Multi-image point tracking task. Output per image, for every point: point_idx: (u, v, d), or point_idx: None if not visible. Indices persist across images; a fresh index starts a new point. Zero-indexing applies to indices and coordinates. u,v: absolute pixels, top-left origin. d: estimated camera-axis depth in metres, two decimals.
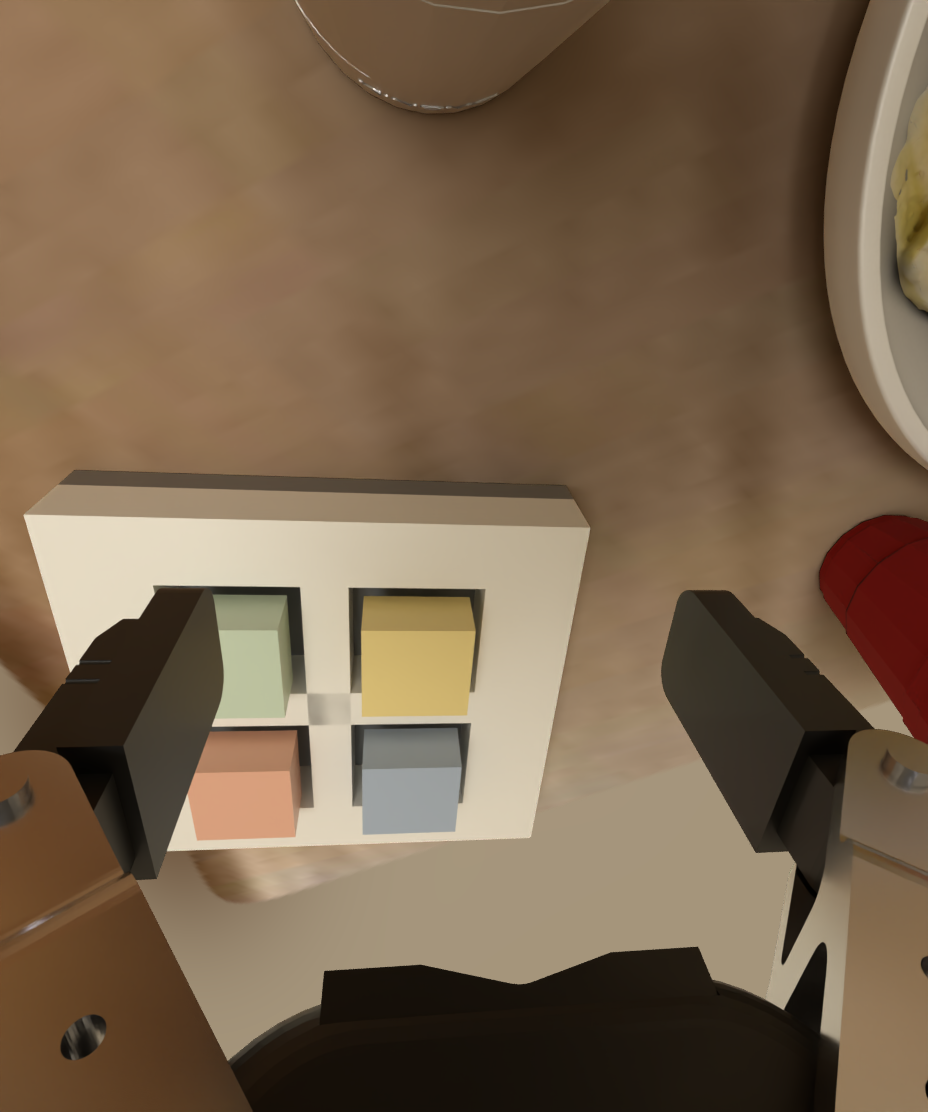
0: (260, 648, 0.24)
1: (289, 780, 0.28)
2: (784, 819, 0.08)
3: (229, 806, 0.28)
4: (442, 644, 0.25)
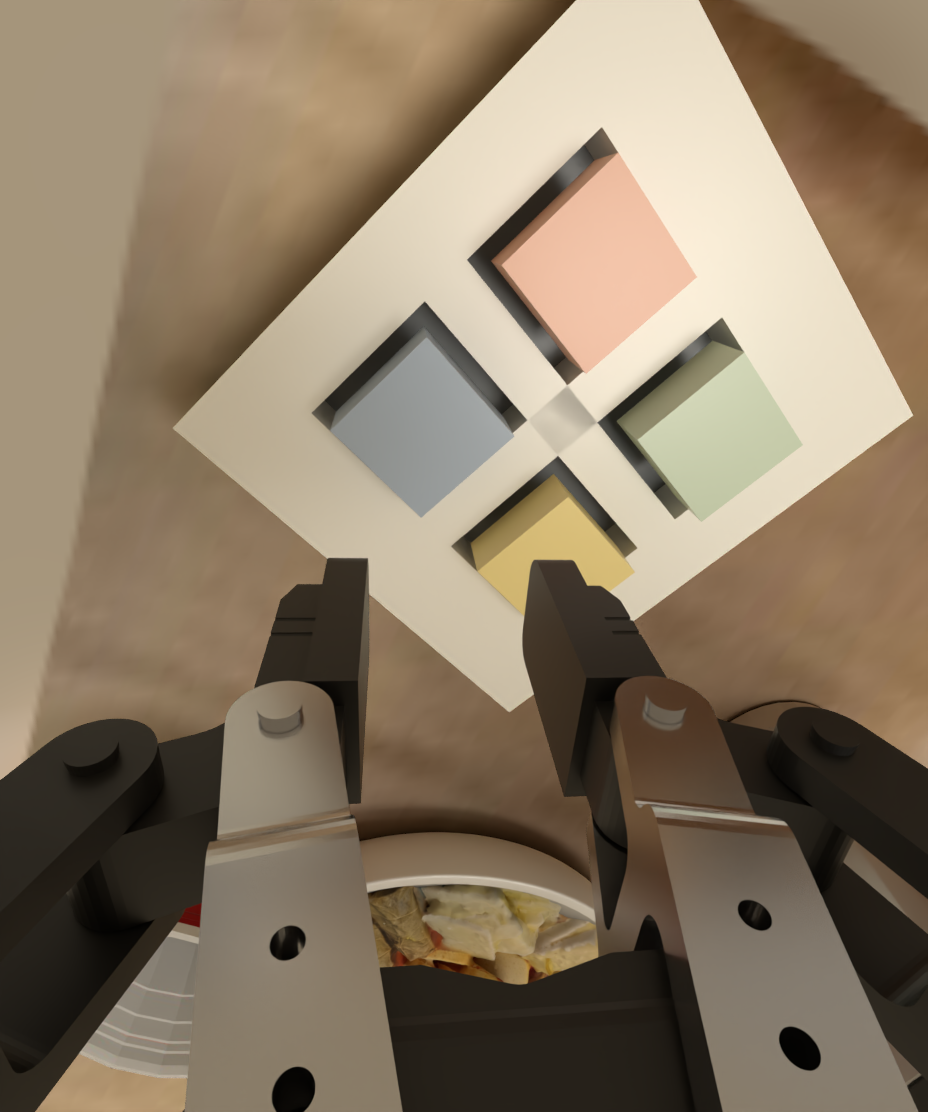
0: (704, 495, 0.24)
1: (576, 359, 0.21)
2: (582, 763, 0.09)
3: (615, 258, 0.19)
4: None
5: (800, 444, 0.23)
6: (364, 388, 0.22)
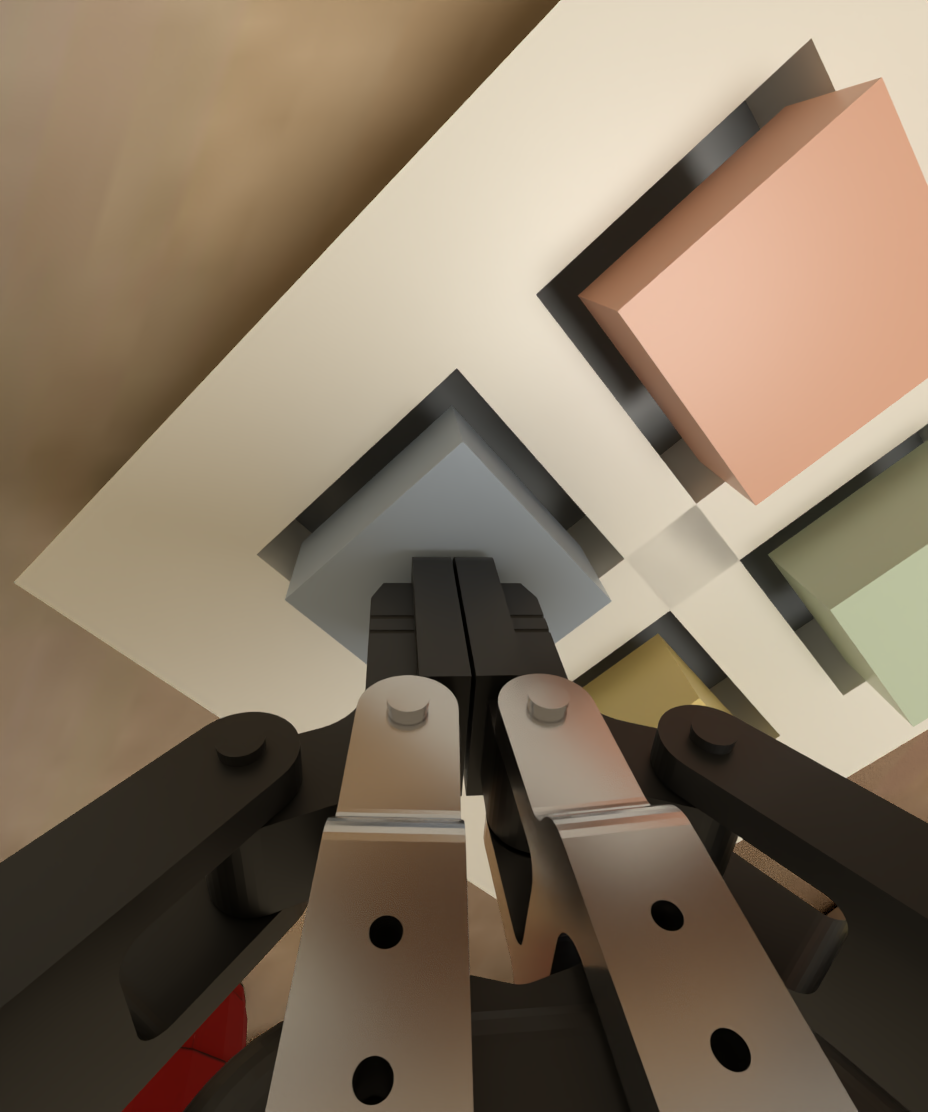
0: (927, 688, 0.14)
1: (741, 481, 0.11)
2: (480, 762, 0.09)
3: (840, 297, 0.10)
4: None
5: None
6: (348, 513, 0.13)
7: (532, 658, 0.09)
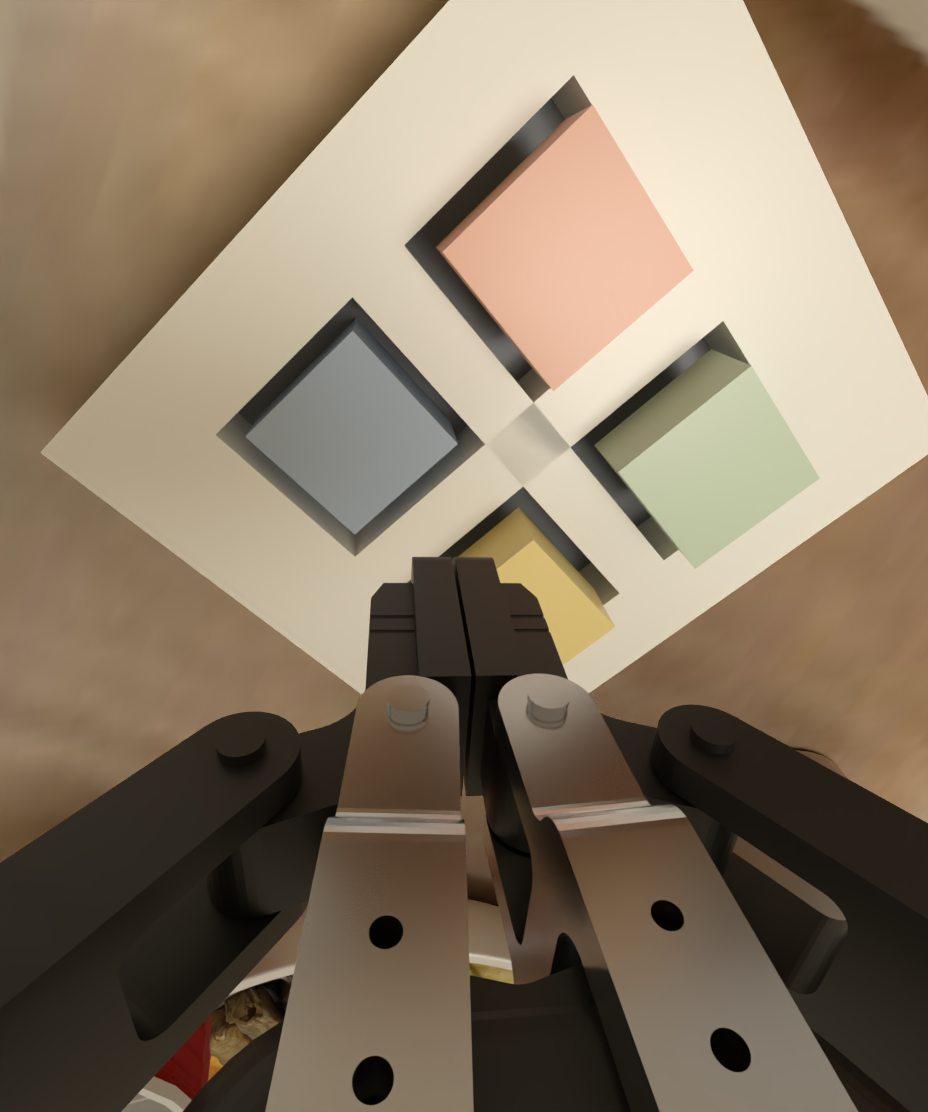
0: (700, 537, 0.19)
1: (541, 372, 0.16)
2: (480, 762, 0.09)
3: (589, 245, 0.15)
4: None
5: (816, 477, 0.19)
6: (288, 388, 0.19)
7: (532, 658, 0.09)
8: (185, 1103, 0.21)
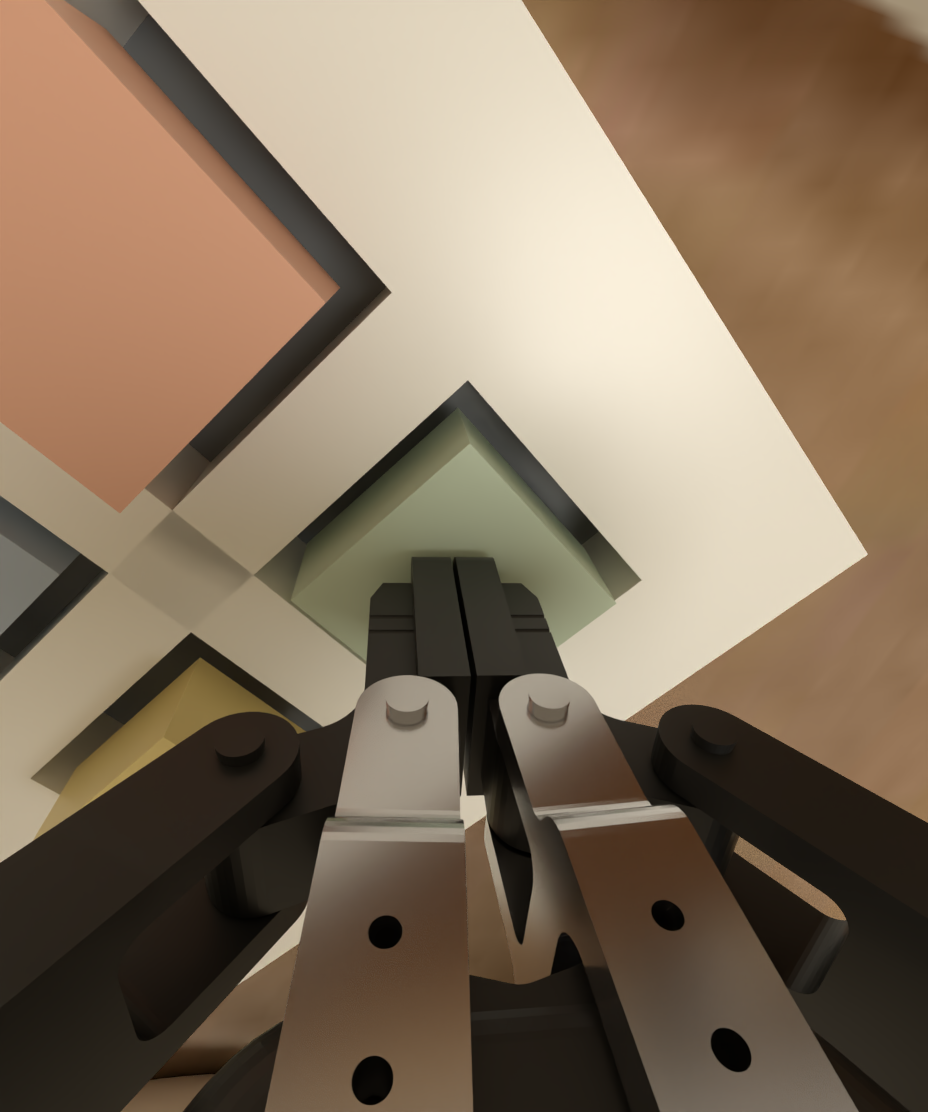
0: None
1: (85, 483, 0.09)
2: (481, 762, 0.09)
3: (102, 257, 0.08)
4: None
5: (612, 602, 0.12)
6: None
7: (533, 658, 0.09)
8: None
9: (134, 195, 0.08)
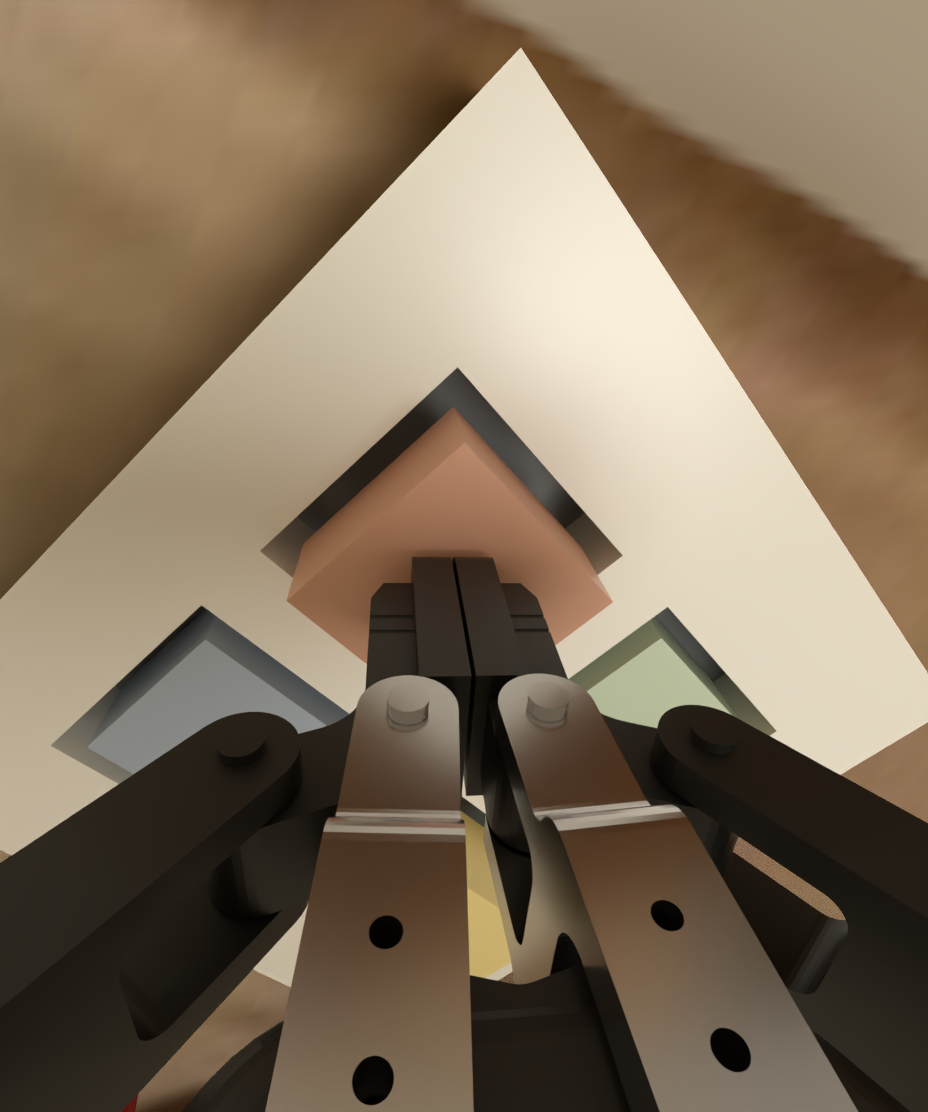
0: None
1: None
2: (480, 762, 0.09)
3: None
4: None
5: None
6: (149, 670, 0.16)
7: (532, 658, 0.09)
8: None
9: (505, 551, 0.12)
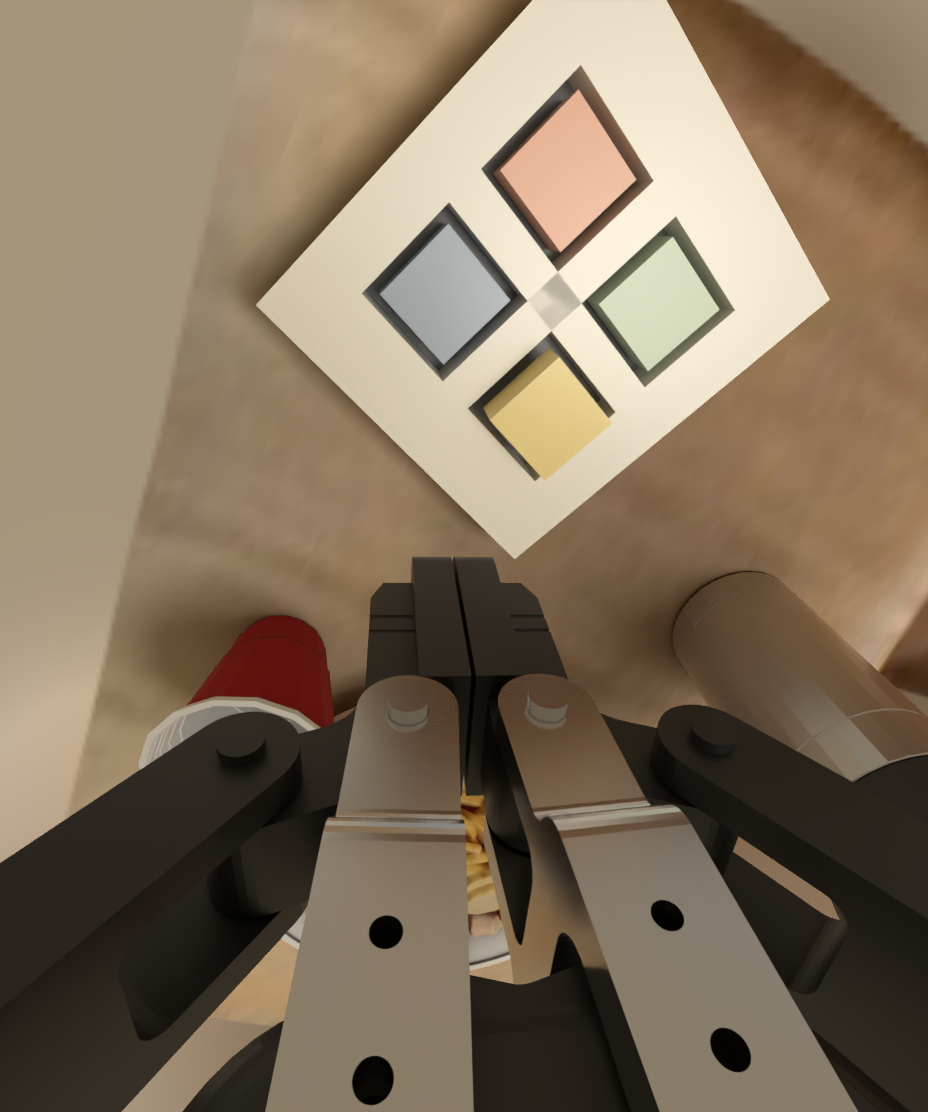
0: (650, 349, 0.32)
1: (553, 241, 0.29)
2: (480, 762, 0.09)
3: (578, 165, 0.28)
4: (556, 455, 0.32)
5: (717, 309, 0.32)
6: (402, 268, 0.31)
7: (532, 658, 0.09)
8: None
9: (591, 147, 0.28)
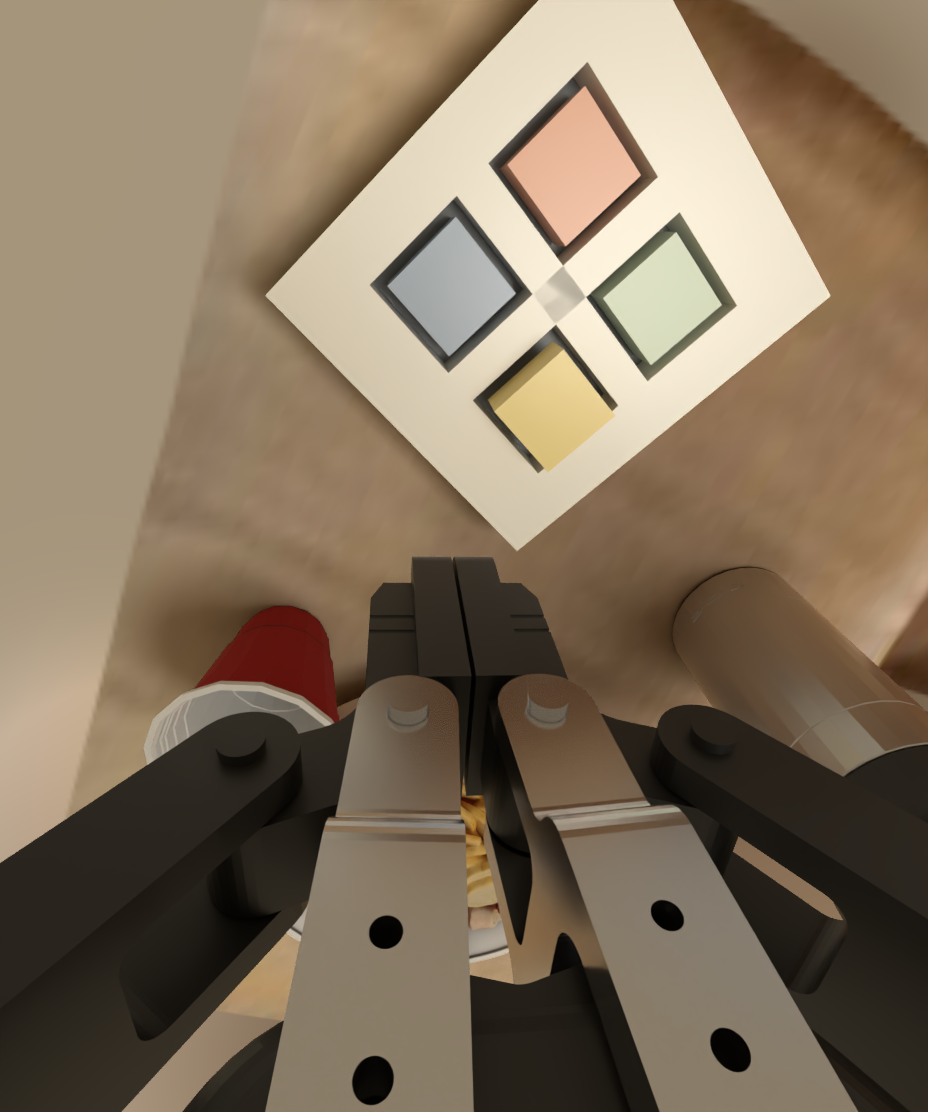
0: (652, 343, 0.33)
1: (558, 235, 0.30)
2: (480, 762, 0.09)
3: (584, 161, 0.29)
4: (559, 447, 0.33)
5: (720, 304, 0.32)
6: (409, 261, 0.31)
7: (532, 658, 0.09)
8: None
9: (597, 143, 0.28)
